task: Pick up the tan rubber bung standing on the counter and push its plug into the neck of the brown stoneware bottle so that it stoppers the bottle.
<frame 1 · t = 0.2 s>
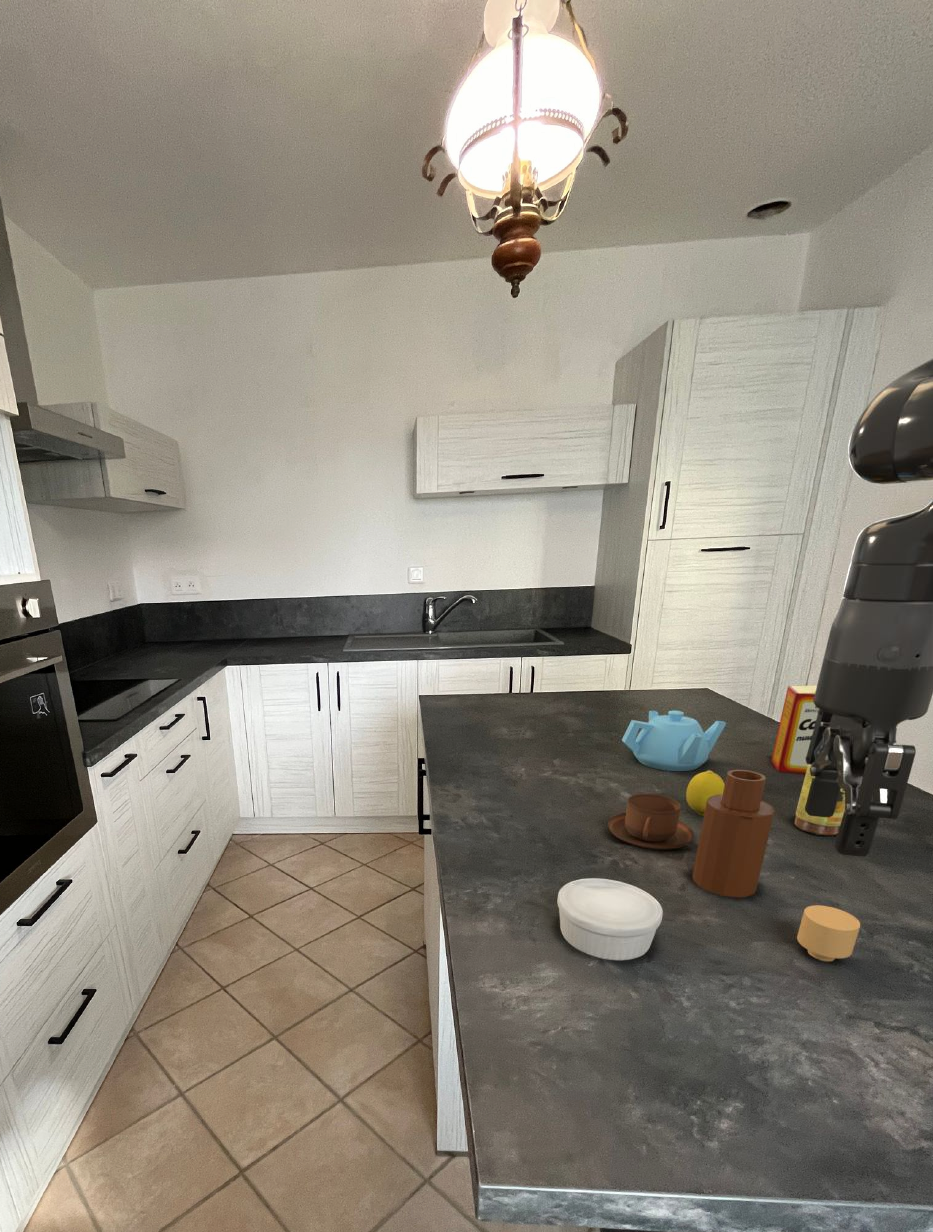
hand: (833, 833, 57), 18 cm above the countertop, tool pointing down, fingers open, 8 cm apart
lemon: (701, 816, 104), on the countertop
cup and saucer: (648, 840, 96), on the countertop
teapot: (669, 762, 129), on the countertop
ramekin: (603, 941, 73), on the countertop
sauce bottle: (816, 830, 97), on the countertop
bung: (819, 960, 68), on the countertop
baking soda box: (802, 769, 122), on the countertop
brown bottle: (722, 887, 82), on the countertop
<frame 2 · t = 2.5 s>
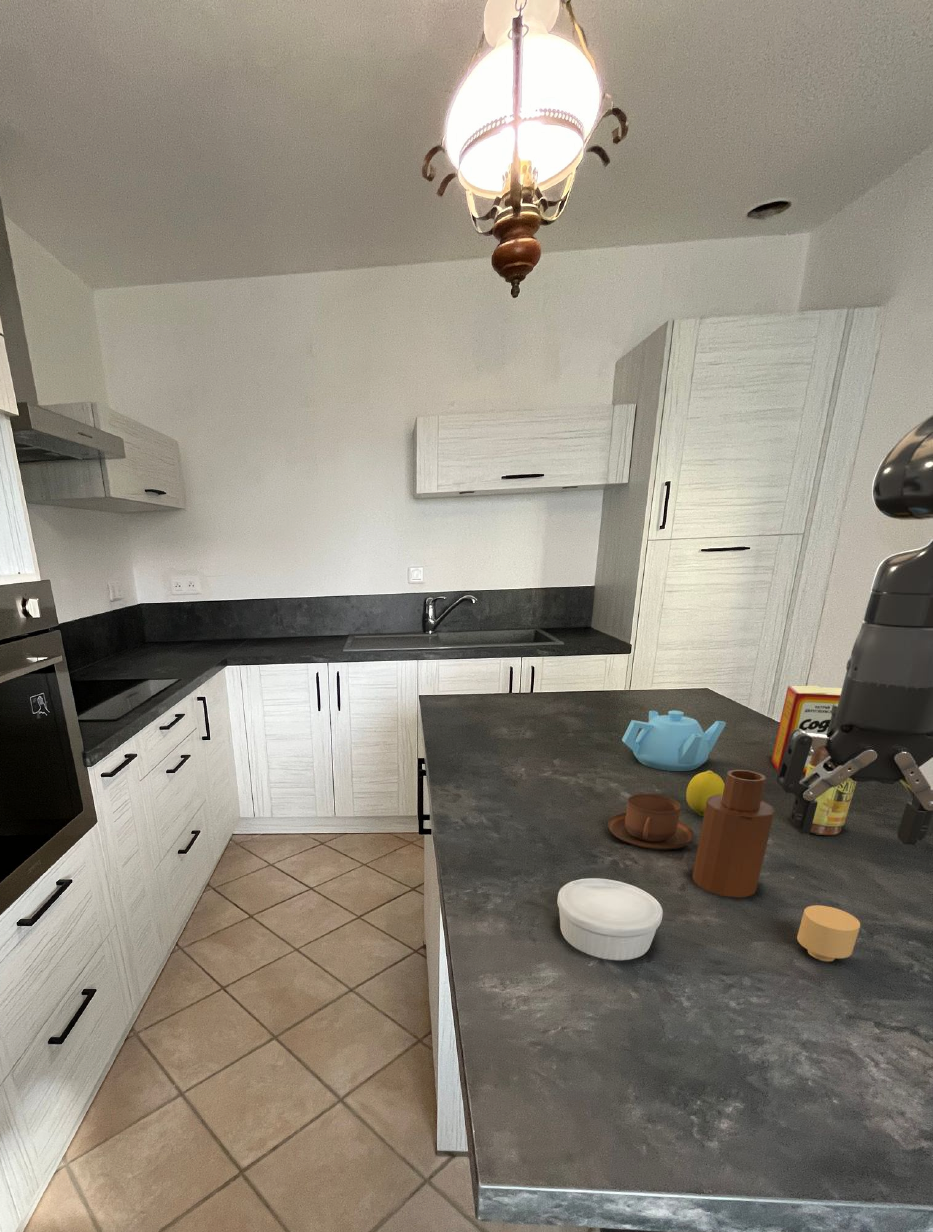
hand: (852, 836, 62), 15 cm above the countertop, tool pointing down, fingers open, 8 cm apart
nothing on the countertop moved.
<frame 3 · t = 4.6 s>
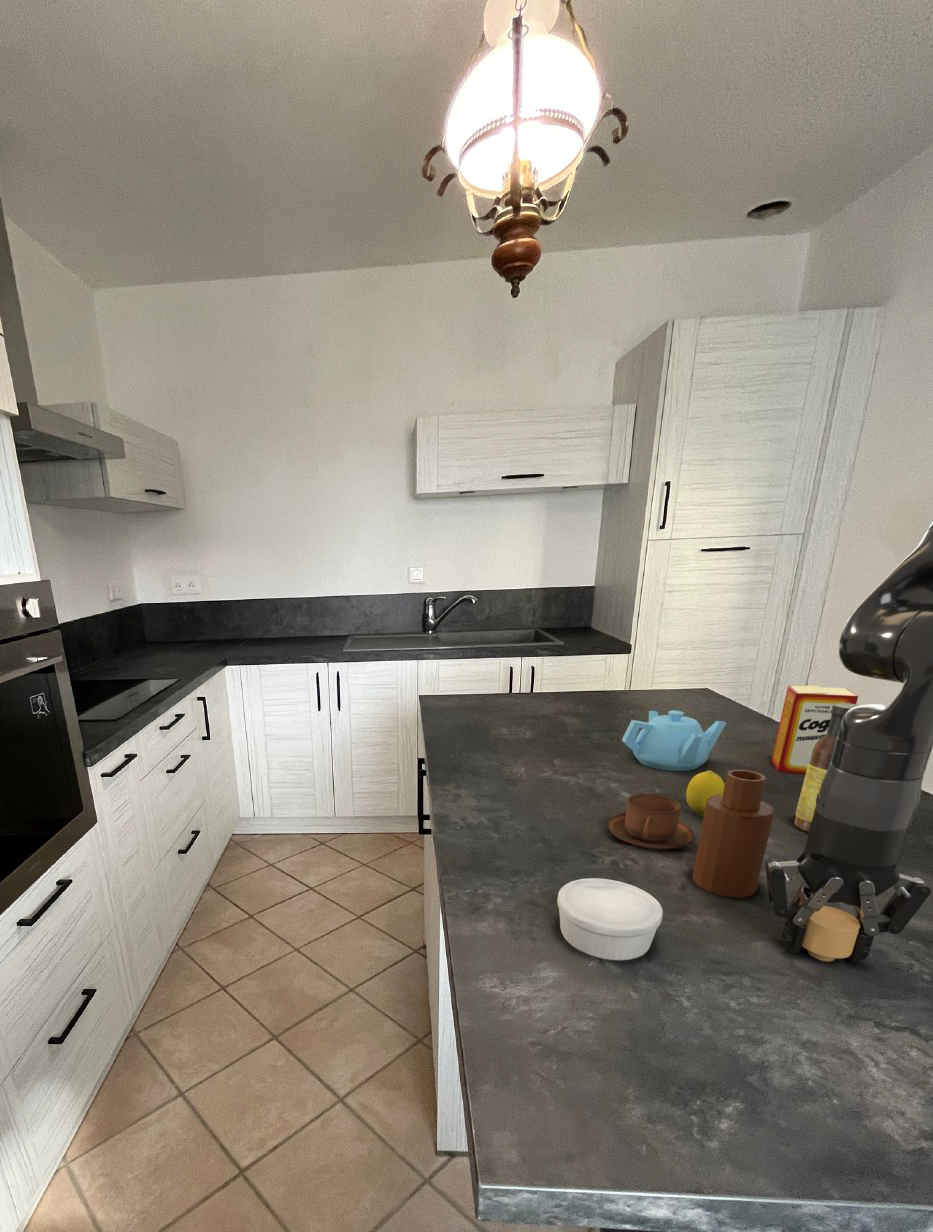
hand: (821, 953, 67), 1 cm above the countertop, tool pointing down, fingers closed on bung, 4 cm apart
bung: (819, 960, 68), on the countertop, touching gripper
everything else where it was.
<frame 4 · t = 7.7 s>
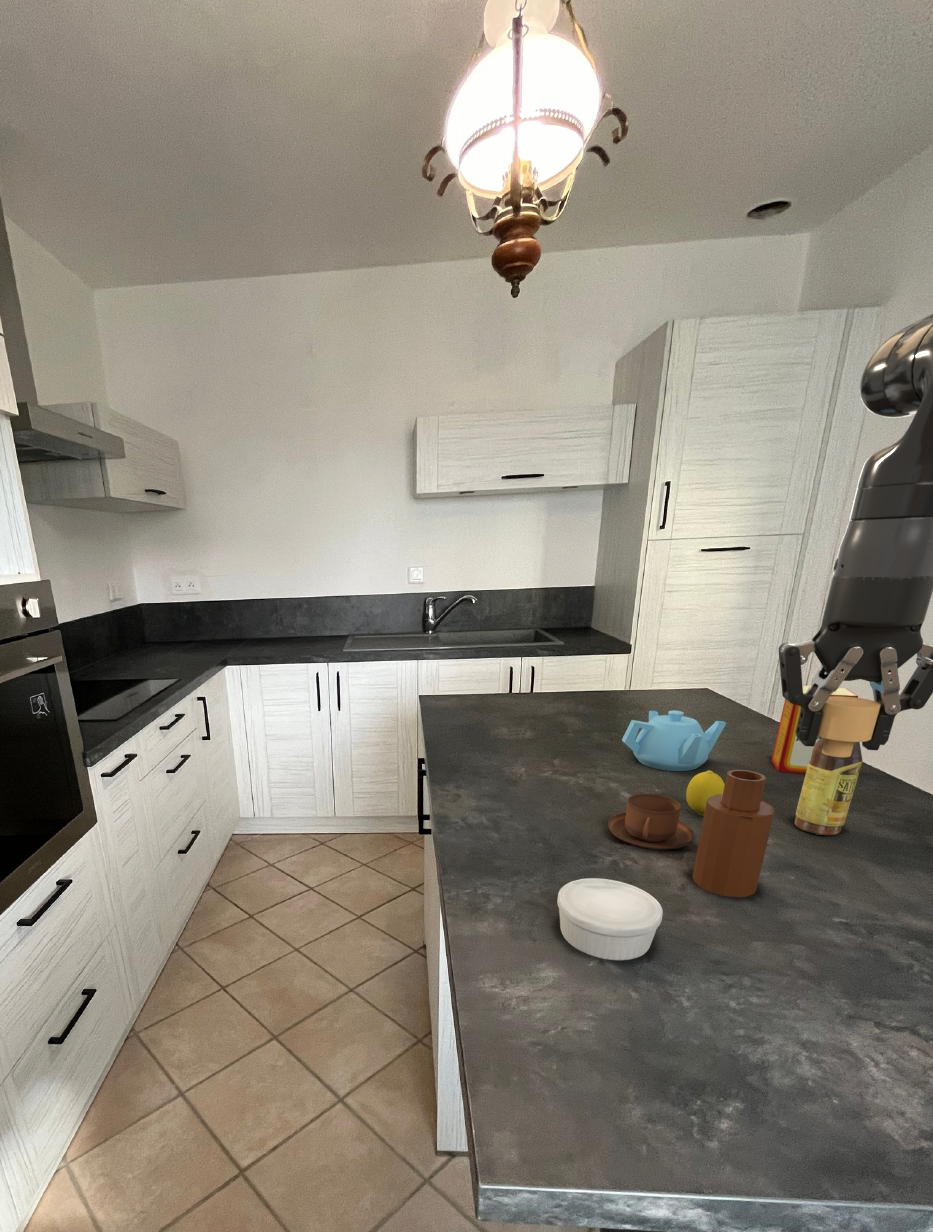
hand: (838, 745, 63), 23 cm above the countertop, tool pointing down, fingers closed on bung, 4 cm apart
bung: (836, 753, 64), point 22 cm above the countertop, touching gripper
everything else where it was.
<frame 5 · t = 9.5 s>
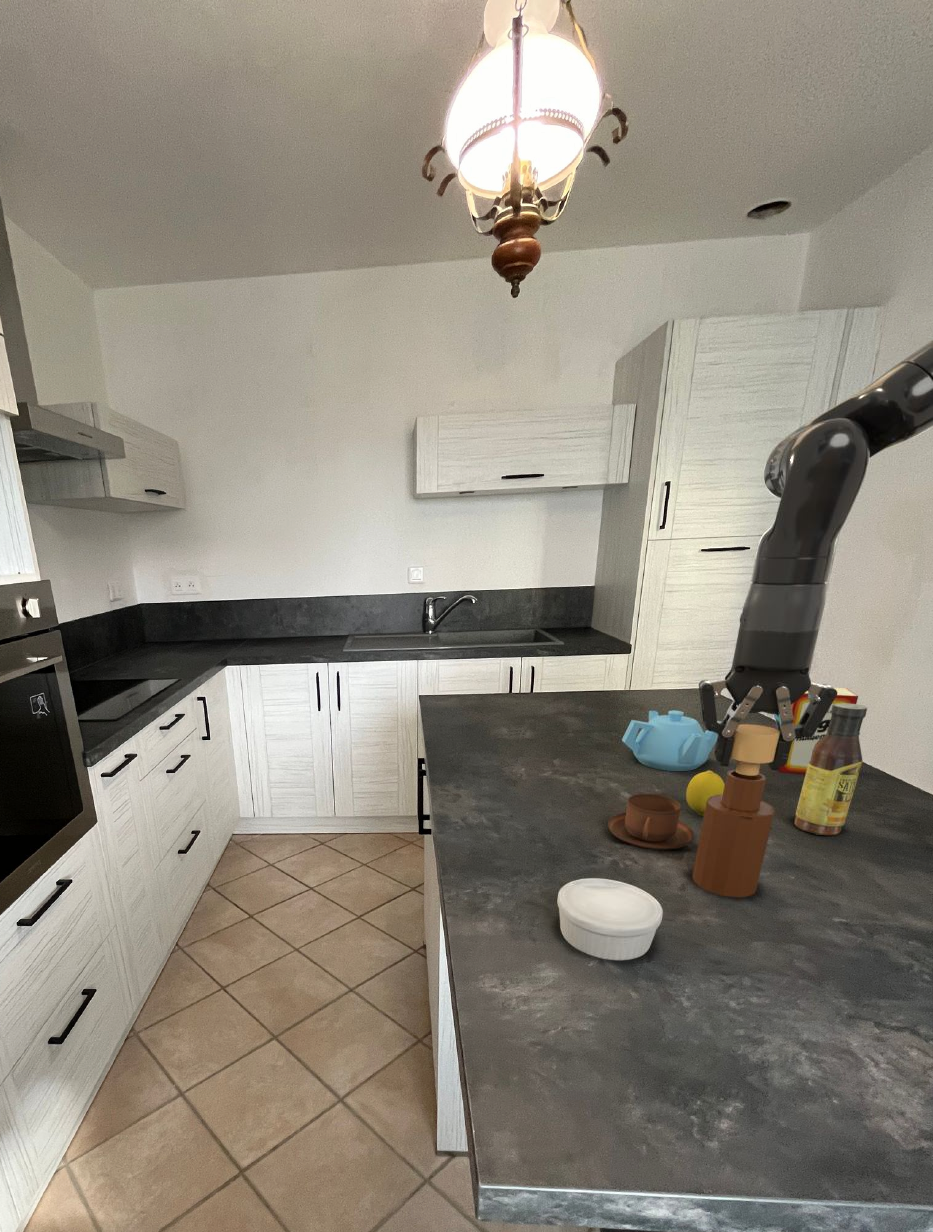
hand: (748, 765, 76), 17 cm above the countertop, tool pointing down, fingers closed on bung, 4 cm apart
bung: (746, 772, 76), point 16 cm above the countertop, touching gripper
everything else where it was.
when the fingers open (15 cm above the countertop, at t = 10.7 s): bung stays where it is, resting on brown bottle.
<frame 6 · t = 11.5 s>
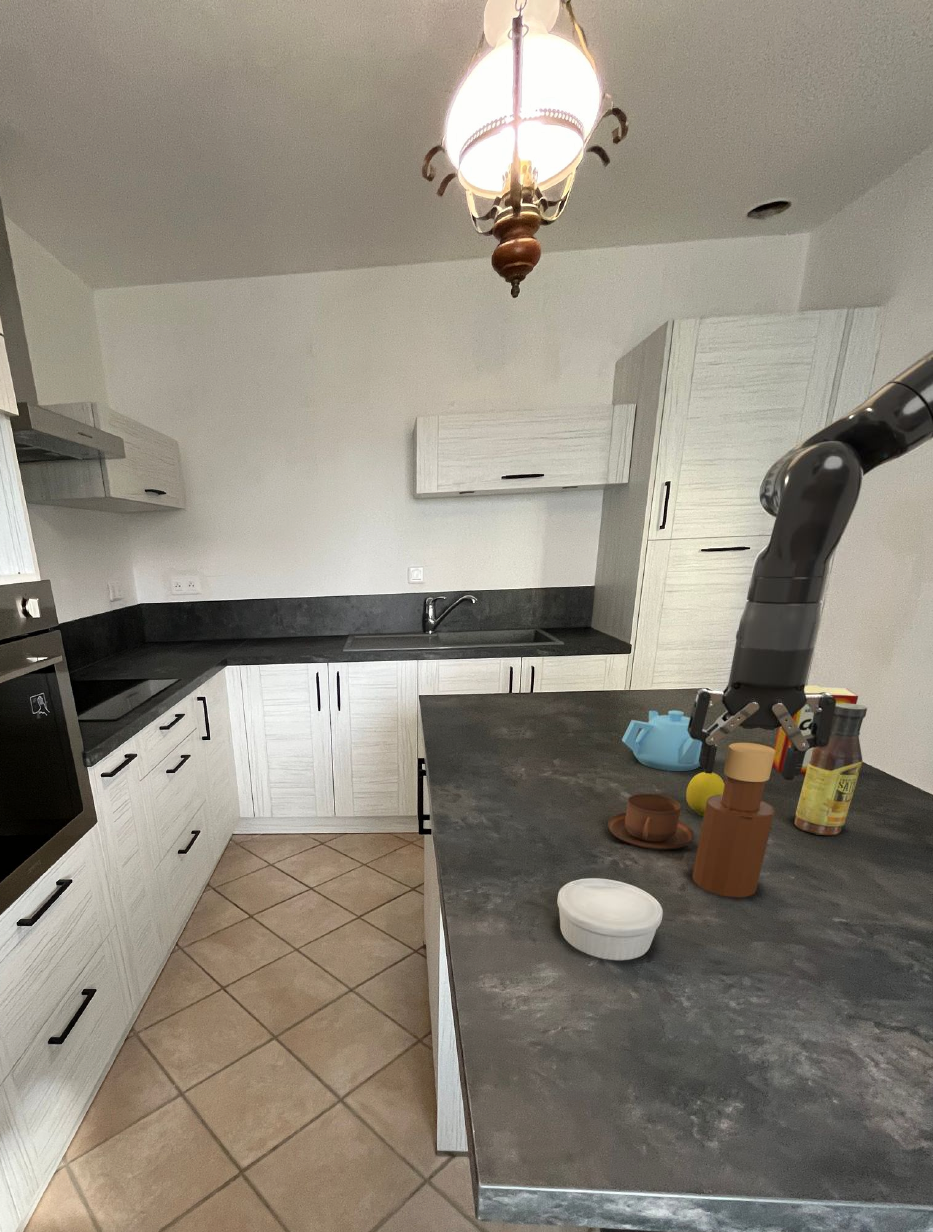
hand: (746, 774, 76), 16 cm above the countertop, tool pointing down, fingers open, 8 cm apart
bung: (743, 790, 77), point 14 cm above the countertop, touching brown bottle
everything else where it was.
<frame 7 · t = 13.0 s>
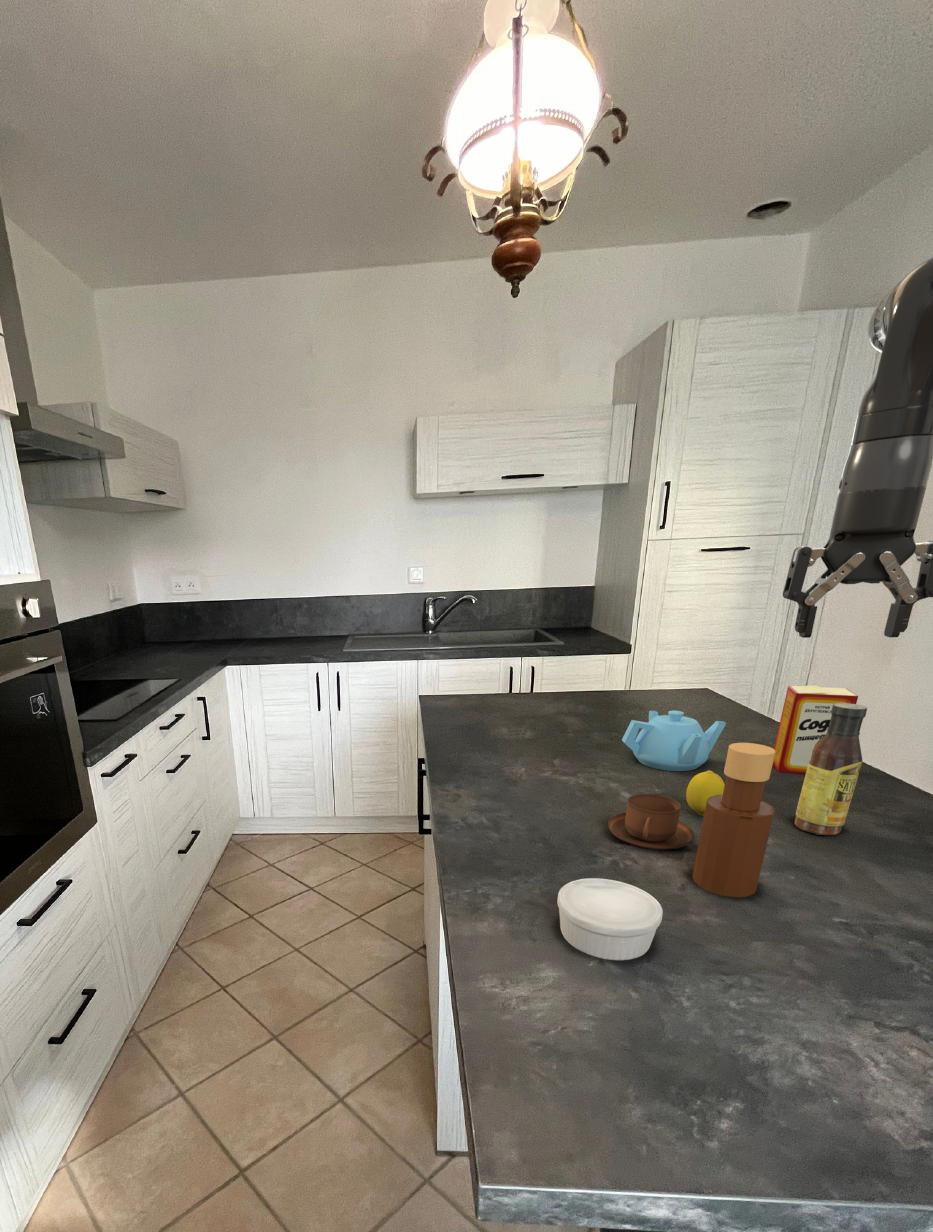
hand: (847, 636, 74), 32 cm above the countertop, tool pointing down, fingers open, 8 cm apart
nothing on the countertop moved.
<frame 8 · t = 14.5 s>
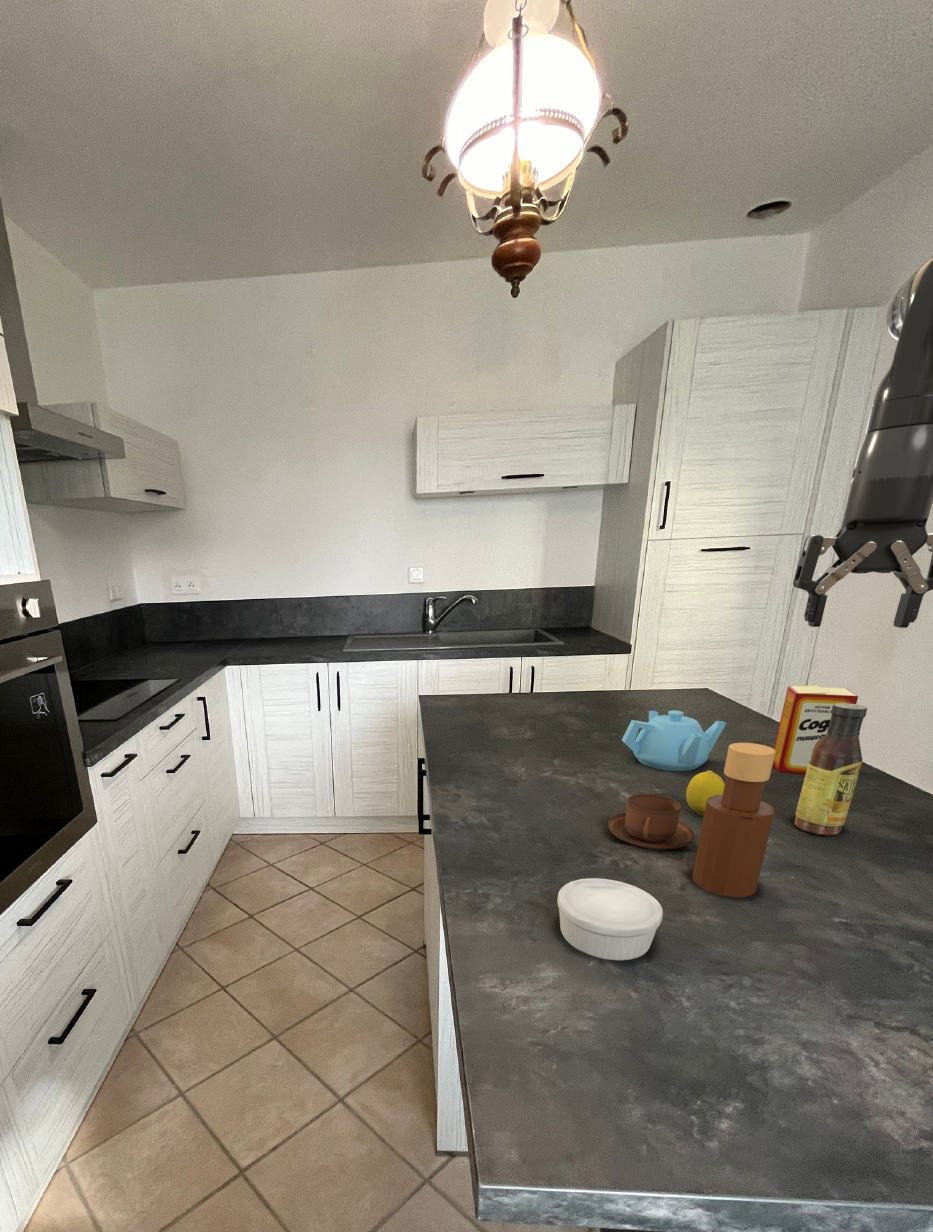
hand: (856, 626, 74), 33 cm above the countertop, tool pointing down, fingers open, 8 cm apart
nothing on the countertop moved.
at the end: bung 0.0 cm off-centre in the brown bottle, point 14.0 cm above the brown bottle's base; bung tilted 0°; the gripper is holding nothing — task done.
